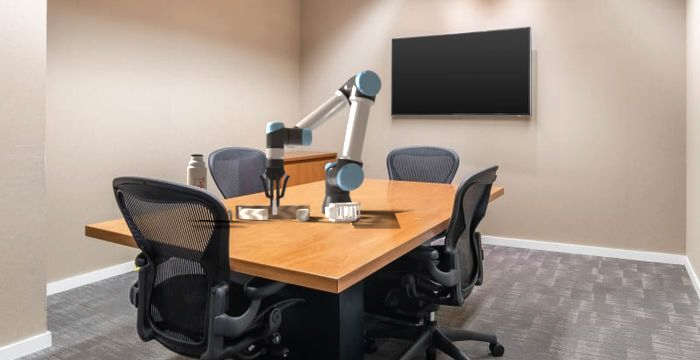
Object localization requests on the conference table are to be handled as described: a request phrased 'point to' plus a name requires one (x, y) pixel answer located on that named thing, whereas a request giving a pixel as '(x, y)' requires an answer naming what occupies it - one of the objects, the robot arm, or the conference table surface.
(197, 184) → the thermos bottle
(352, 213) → the car outline toy
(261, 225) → the conference table surface
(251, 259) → the conference table surface
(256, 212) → the folding leg
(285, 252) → the conference table surface
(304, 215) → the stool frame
